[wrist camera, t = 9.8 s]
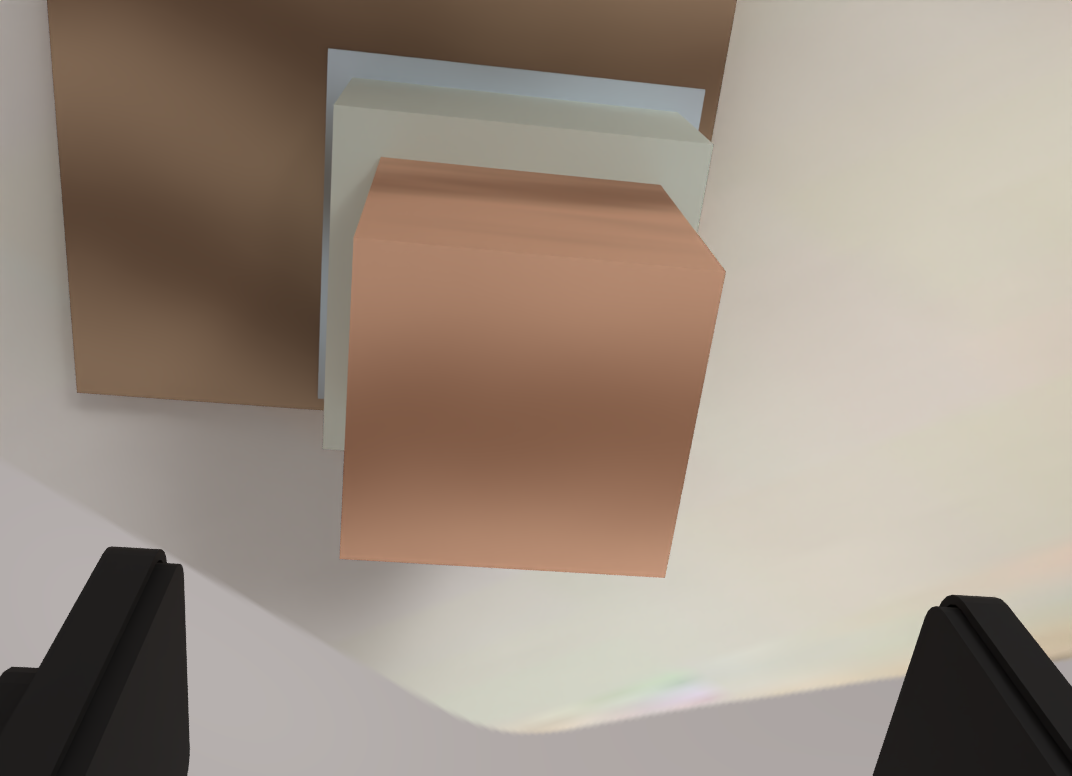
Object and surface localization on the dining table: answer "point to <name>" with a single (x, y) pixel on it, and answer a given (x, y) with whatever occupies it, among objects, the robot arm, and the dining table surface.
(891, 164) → the dining table surface
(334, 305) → the base block
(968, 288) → the dining table surface
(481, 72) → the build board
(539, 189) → the top block
